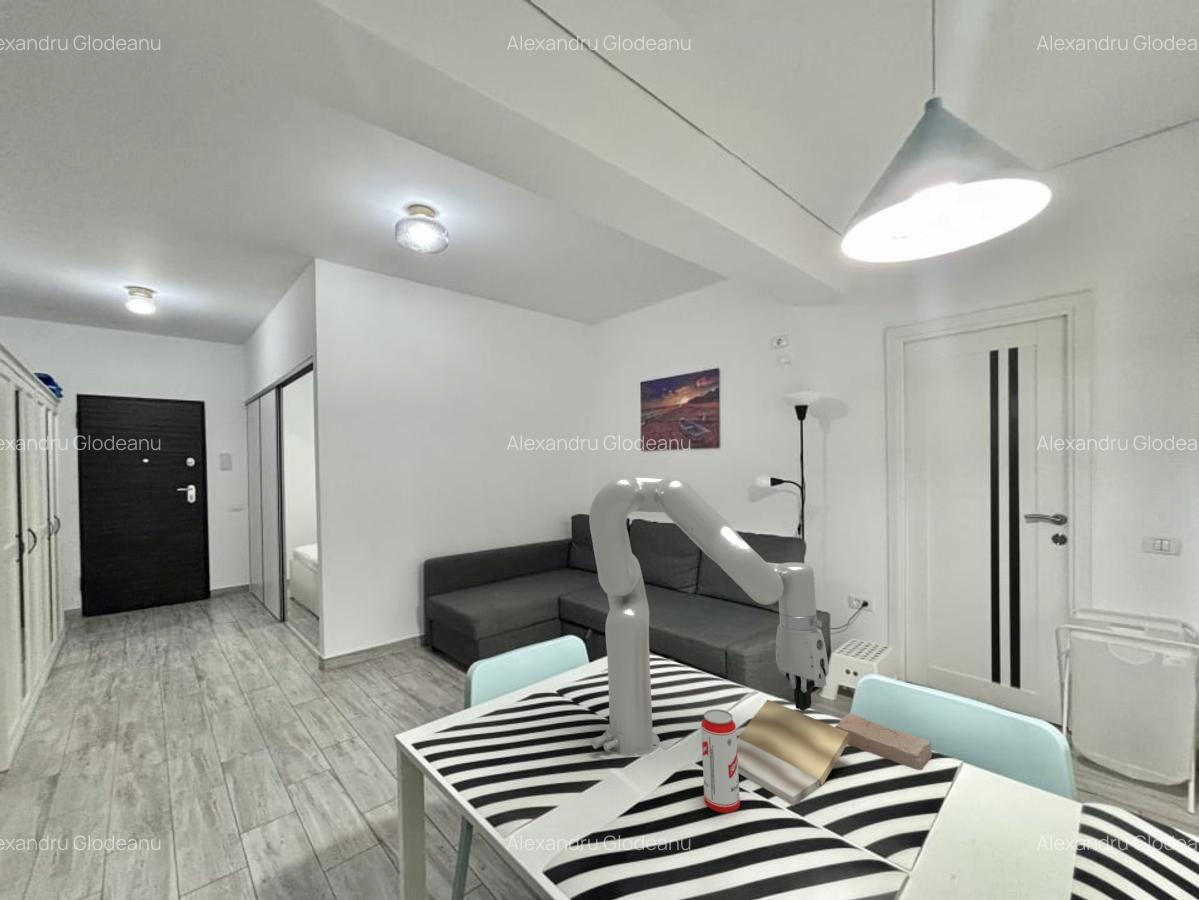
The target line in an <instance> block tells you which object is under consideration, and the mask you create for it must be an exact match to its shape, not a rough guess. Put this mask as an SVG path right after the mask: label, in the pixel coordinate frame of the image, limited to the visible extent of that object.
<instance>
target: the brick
mask: <svg viewBox="0 0 1199 900" xmlns="http://www.w3.org/2000/svg"><path fill="white" fill-rule="evenodd" d="M835 727H836V728H839V729H841V730H844V731H846V732H848V733H849V735H850V738H851V739H850V740H849V742H848V744H847V746H851V747H854V748H857V749H859V750H861V751H864V752H867V753H870V754H873V755H875V756H878V757H880V758H883V759H887V760H889V761H892V762H894V763H897V764H900V765H903V766H904V767H905V766H906V767H908V768H910V769H914V770H917V771H921V770H923V768H924V766H926V765H927V763H928V762H929V760H931V759H932V757H933V751H932V750H931V749H932V745H931V743H930V742H931V741H930V740H926V739H925V738H920V737H917V736H916V735H913V734H911V733H906V732H903V731H899V730H896V729H893V730H892V729H890V728H888V727H886V726H885V725H882V724H881V723H876V722H873V721H872V720H870V719H868V718H867V719H866V718H865V717H862V716H860V715H857V714H854V713H848V714H846V715H845V716H843V718H841V719H840V721H839V722H838V723H837V724H836V725H835Z"/></svg>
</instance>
